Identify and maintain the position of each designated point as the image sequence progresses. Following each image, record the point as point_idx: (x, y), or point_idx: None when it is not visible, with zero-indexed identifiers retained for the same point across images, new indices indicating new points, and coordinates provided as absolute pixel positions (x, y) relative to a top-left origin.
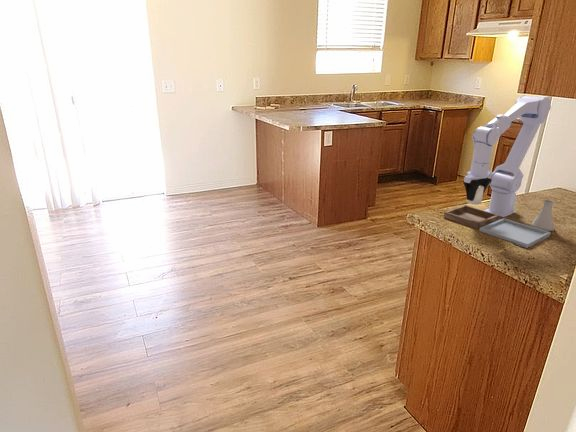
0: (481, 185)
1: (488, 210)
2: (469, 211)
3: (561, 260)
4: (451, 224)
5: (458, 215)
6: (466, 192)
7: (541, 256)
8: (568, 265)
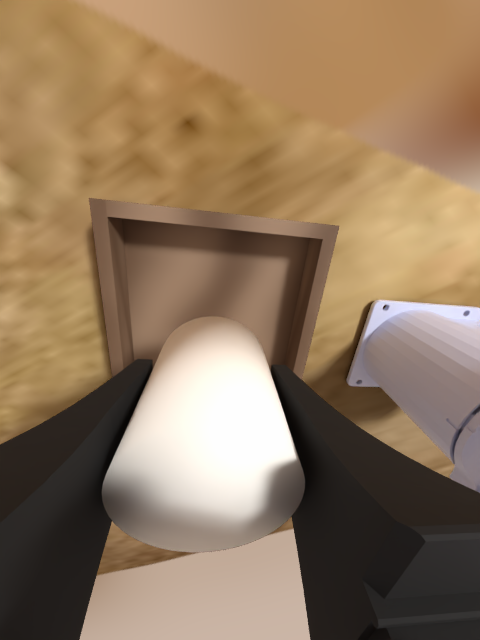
0: (295, 508)
1: (389, 317)
2: (306, 265)
3: (136, 557)
4: (75, 282)
5: (212, 248)
6: (89, 397)
7: (115, 537)
8: (123, 568)
